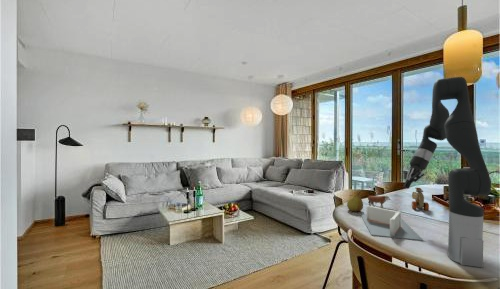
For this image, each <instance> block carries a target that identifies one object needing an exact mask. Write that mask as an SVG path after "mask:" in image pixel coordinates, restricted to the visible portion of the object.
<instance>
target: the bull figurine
mask: <svg viewBox="0 0 500 289" xmlns="http://www.w3.org/2000/svg"><path fill="white" fill-rule="evenodd" d="M367 200H368V201H367V202H368V206H372V207H376V206H375V205H376V204H378V203H379V204H380V207H379V208H382V209H384V208H383V207H384V204H385V203H386V202H387V201H391V197H390V196H389V195H388V194H386V195H385V194H383V195H368V197H367Z"/></svg>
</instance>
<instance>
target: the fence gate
mask: <svg viewBox="0 0 500 289" xmlns="http://www.w3.org/2000/svg"><path fill="white" fill-rule="evenodd" d="M396 212H397V211H396V210H392V209H391V210H390V209H387V208H381V207H376V206H375V207H373V205H371V206H369V205H367V206H366V214H367V219H370V220H374V221H378V222H382V223H386V224H390V219H391V218H392V217H393V216H394V215H395V214H396Z"/></svg>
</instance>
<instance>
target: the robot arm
mask: <svg viewBox="0 0 500 289" xmlns="http://www.w3.org/2000/svg"><path fill="white" fill-rule="evenodd" d="M431 97H432V98H431V99H432V100H431V116H430V120H429V124H426V125H425V126H424V128H423V132H422V133H423V134H422V139H421V142H420V144H419V146H418V148H417V149H416V150H415V152H414V154H413V155H412V158H411V160H410V161H409V165H410V166H409V168H408V169H407V170H403V179H404V180H405V182H404V184H403V185H402V187H403V188H404V189H409V188H410V187H411V185H412V183H416V182H417V181H419V180H420V179H421V178H423V177H424V175H425V173H423V171H425V170H427V167H428V166H429V163H430V161H432V158H433V155H434V153H435V151H436V149H437V148H438V144H437V143H436V142H435V141H433V140H437V141H444V140H446V141H447V143H448V145H450V146H451V147H452V148H453V149H454V150H455V151H456V152H457V153H459V154H460V155H461V156H462V157H463V159H464V161H466V163H467V165H468V166H469V168H452V169H451V170H450V171H449V173H448V177H447V179H448V181H447V184H448V206H449V207H448V210H449V211H448V240H447V242H448V244H447V247H448V253H447V255H448V258H449V259H450V260H452V261H454V262H456V263H457V264H460V265H461V266H469V267H476V268H484V238H483V237H484V236H483V234H484V212H485V211H484V208H483V207H482V206H480V205H477V204H475V203H472V202H469V201H467V200H466V199H465V196H464V195H467V196H468V195H469V196H488V195H489V194H490V193H491V192H492V191H491V190H492V180H491V176H490V173H489V170H488V167H487V166H486V165H487V164H486V161H485V159H484V156H483V154H482V150H481V146H480V143H479V142H480V141H479V136H478V132H477V127H476V123H475V119H474V116H473V113H472V108H471V104H470V103H471V102H470V94H469V87H468V82H467V80H466V79H465V77H463V76H456V77H455V76H454V77H446V78H440V79H437V80H435V82H434V83H433V87H432V96H431ZM446 100H456V102H457V104H456V106H455V108H454V109H453V111H452V112H451V113H450V111H449V110H448V108H447V107H446V106H445V105H444V104H443V103H442V101H446ZM431 139H433V140H431Z"/></svg>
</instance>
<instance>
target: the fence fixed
mask: <svg viewBox="0 0 500 289" xmlns="http://www.w3.org/2000/svg"><path fill="white" fill-rule="evenodd" d="M401 219H402V212H401V211H396V214H395V215H394V216H393V217H392V218H391V219H390V235H391V236H395V232H396V231H397V230H398V228H399V227H401Z"/></svg>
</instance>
